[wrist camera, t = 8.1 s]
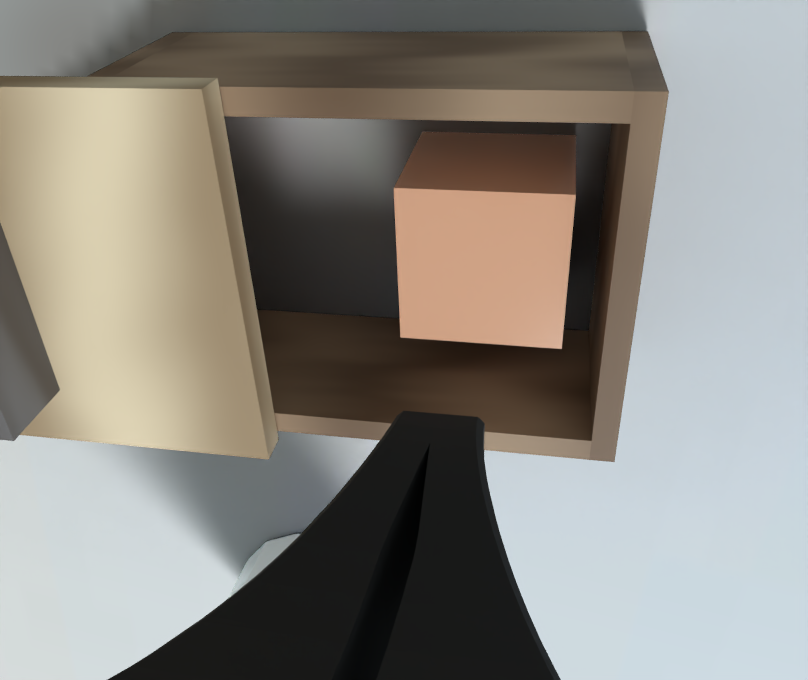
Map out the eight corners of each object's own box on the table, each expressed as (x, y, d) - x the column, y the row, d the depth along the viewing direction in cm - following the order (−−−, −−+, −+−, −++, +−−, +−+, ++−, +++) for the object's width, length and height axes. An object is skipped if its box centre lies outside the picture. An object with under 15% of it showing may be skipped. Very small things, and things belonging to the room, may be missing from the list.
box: (647, 31, 18) (668, 91, 14) (607, 349, 23) (614, 461, 19) (172, 32, 20) (69, 84, 16) (229, 323, 25) (161, 420, 21)
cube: (576, 134, 20) (576, 194, 17) (564, 271, 22) (561, 349, 19) (422, 130, 21) (393, 188, 17) (425, 263, 23) (400, 337, 19)
